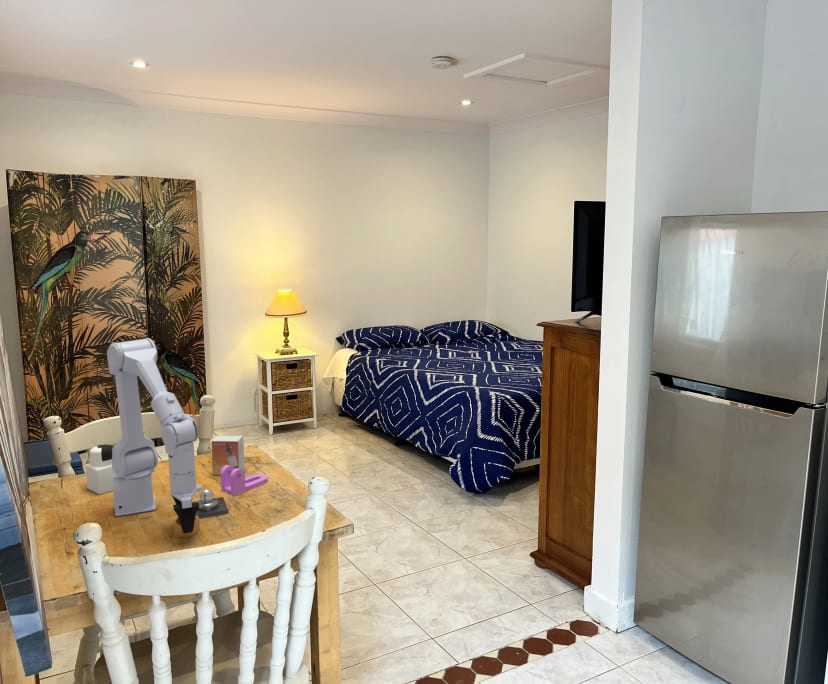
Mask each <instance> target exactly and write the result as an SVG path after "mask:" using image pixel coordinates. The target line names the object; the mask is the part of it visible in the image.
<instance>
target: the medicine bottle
mask: <svg viewBox="0 0 828 684" xmlns="http://www.w3.org/2000/svg"><path fill="white" fill-rule="evenodd" d="M113 447H114V445H112V444H100V445H95V446H93V447H92V448H91V449H90V452H89V453H90V463H87V464H85V467H84V468H85V478H86V487H87V490H90V491H91V492H93V493H96V494H97V495H104V494H106V493H109V492H113V478H114V477H118V476H116V475H115V473H114V471H113V469H112V463H111V462H112V448H113Z"/></svg>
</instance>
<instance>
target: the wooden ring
mask: <svg viewBox="0 0 828 684" xmlns="http://www.w3.org/2000/svg"><path fill="white" fill-rule="evenodd" d="M172 526H173V536H174V535H175V537H176V536H177V537H176V538H181V537H184V538H190V537H194V536H196V535H198V534H199V533H200V532H201V524H200V518H199V517H198V516H195V521H194V528H193V532H190V533H183V531H182V528H181V524H180V520H179V517H178V516H177V517H176V518H174V519H173V520H172ZM199 531H200V532H199ZM198 532H199V533H198ZM197 533H198V534H197ZM193 535H194V536H193ZM184 538H183V539H184Z"/></svg>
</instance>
